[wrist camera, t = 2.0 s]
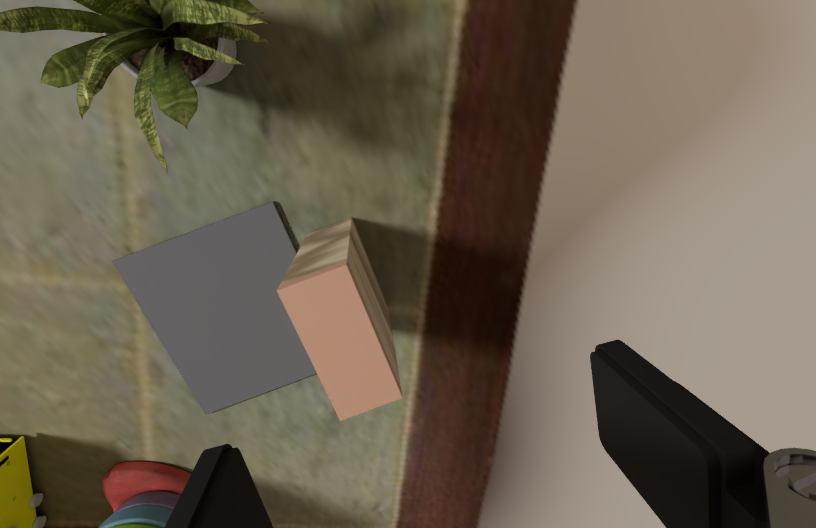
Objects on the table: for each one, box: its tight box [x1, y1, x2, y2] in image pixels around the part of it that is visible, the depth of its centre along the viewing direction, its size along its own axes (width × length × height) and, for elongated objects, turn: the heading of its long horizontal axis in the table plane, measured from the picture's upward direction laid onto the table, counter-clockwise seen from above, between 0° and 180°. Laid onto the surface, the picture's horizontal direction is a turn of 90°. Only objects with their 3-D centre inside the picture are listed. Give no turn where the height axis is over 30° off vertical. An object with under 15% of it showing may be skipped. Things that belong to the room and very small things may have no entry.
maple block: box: [277, 217, 403, 421], centre depth 31 cm, size 4×9×14 cm, turn 20°
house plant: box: [0, 0, 271, 174], centre depth 24 cm, size 14×14×16 cm
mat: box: [112, 201, 317, 414], centre depth 37 cm, size 14×16×1 cm
